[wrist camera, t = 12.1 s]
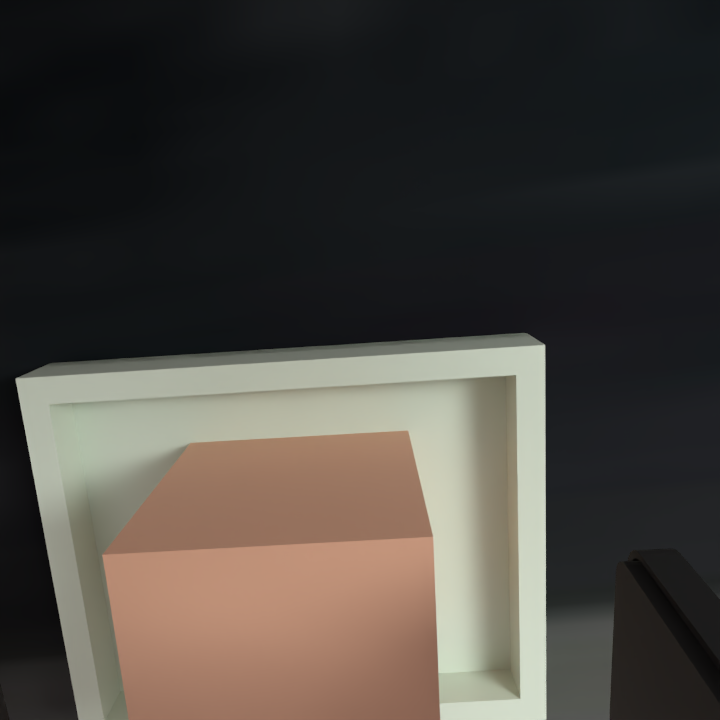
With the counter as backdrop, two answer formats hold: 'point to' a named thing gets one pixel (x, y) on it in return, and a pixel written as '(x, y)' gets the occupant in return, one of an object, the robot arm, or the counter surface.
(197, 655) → the light orange cube
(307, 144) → the counter surface
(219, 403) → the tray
